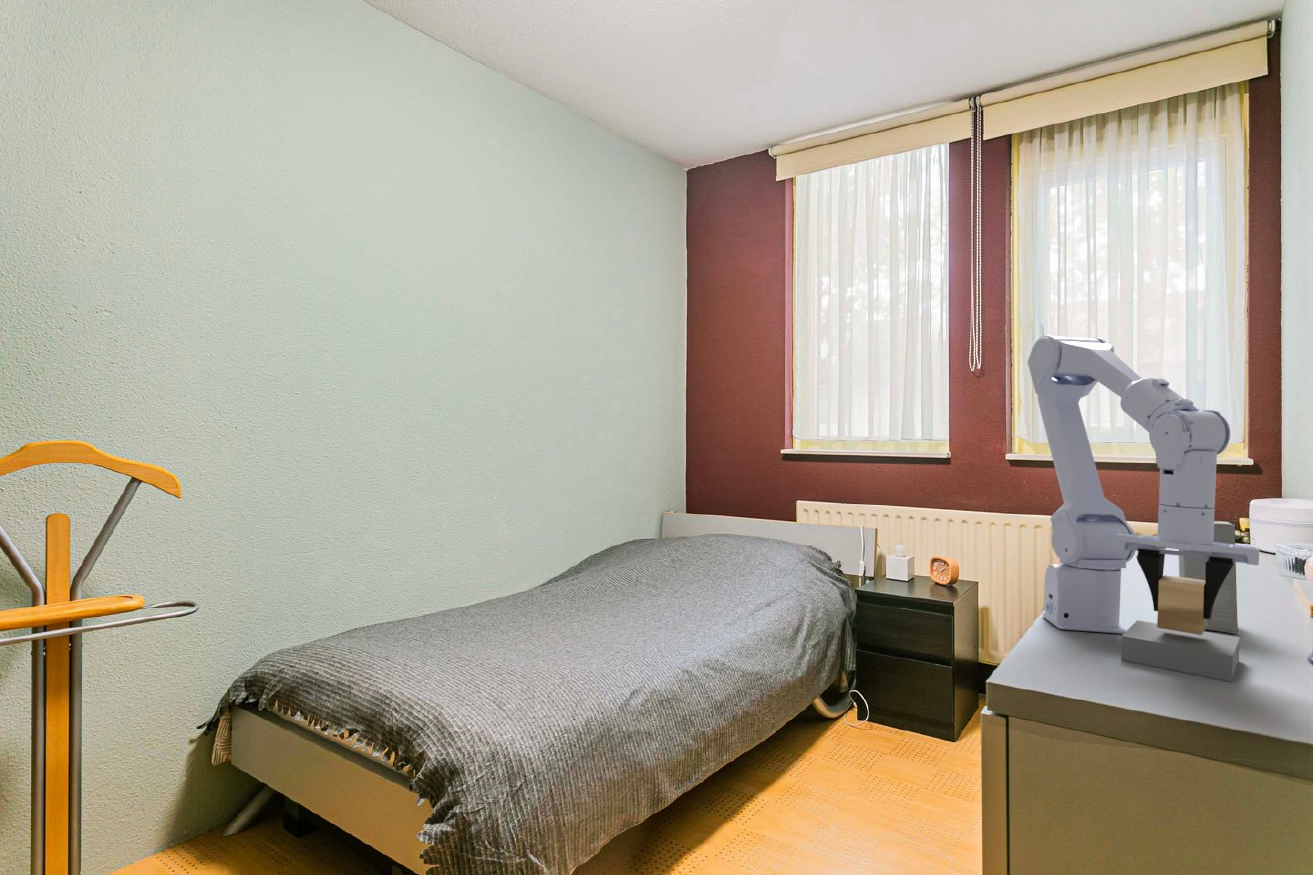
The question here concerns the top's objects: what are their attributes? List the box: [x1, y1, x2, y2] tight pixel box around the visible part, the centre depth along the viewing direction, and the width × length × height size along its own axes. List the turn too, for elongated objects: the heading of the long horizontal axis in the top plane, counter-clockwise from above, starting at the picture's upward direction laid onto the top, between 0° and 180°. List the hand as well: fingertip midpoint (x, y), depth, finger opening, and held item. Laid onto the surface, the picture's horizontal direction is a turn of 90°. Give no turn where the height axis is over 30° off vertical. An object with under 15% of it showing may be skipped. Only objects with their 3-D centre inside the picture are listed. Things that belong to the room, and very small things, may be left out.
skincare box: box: [1178, 520, 1239, 635], centre depth 111 cm, size 8×7×16 cm
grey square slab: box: [1120, 619, 1241, 682], centre depth 93 cm, size 11×11×3 cm
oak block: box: [1156, 574, 1206, 635], centre depth 92 cm, size 4×4×6 cm
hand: (1181, 613), depth 93 cm, fingers closed on oak block, 4 cm apart
